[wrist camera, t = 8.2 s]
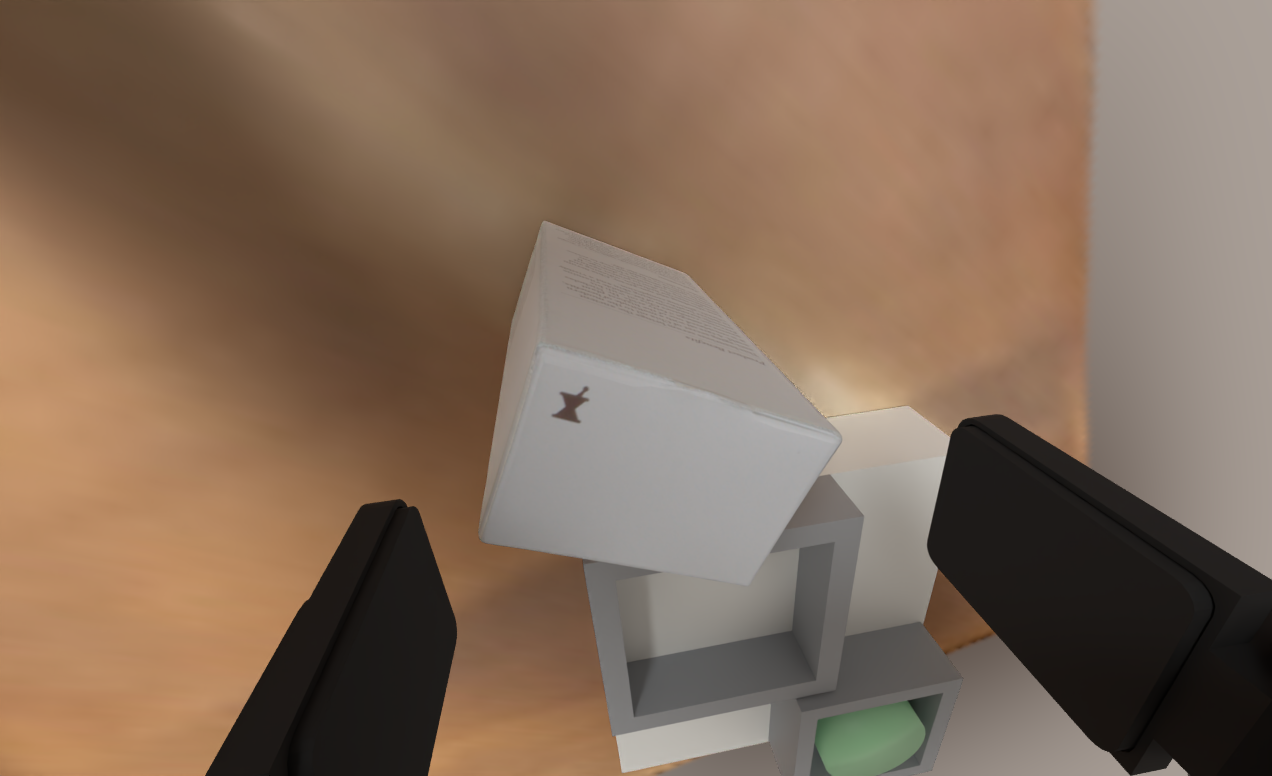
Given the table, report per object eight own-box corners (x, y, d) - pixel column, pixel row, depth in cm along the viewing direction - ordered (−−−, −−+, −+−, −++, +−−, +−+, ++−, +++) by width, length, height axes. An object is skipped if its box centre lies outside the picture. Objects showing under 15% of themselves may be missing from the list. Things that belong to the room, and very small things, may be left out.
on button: (803, 671, 25) (829, 729, 23) (898, 652, 25) (934, 706, 23) (796, 731, 27) (819, 788, 25) (884, 712, 28) (915, 766, 25)
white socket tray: (574, 455, 23) (583, 576, 17) (908, 405, 24) (1030, 498, 18) (613, 700, 31) (629, 841, 25) (861, 650, 33) (934, 771, 26)
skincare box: (509, 324, 20) (463, 546, 9) (542, 216, 18) (532, 333, 8) (652, 368, 22) (751, 596, 11) (693, 273, 20) (856, 432, 9)
